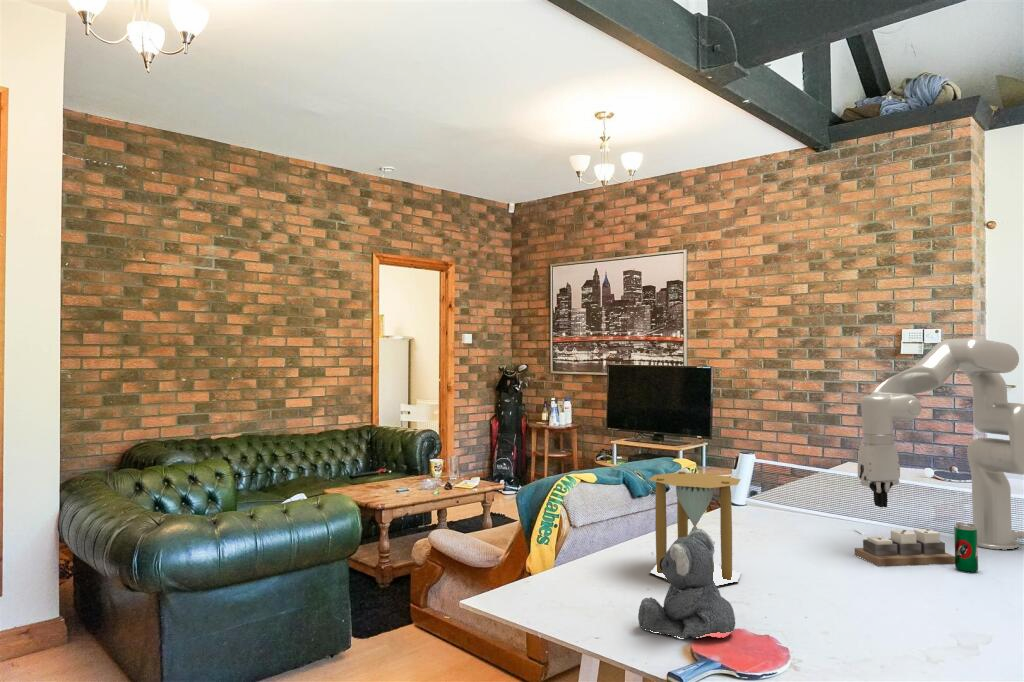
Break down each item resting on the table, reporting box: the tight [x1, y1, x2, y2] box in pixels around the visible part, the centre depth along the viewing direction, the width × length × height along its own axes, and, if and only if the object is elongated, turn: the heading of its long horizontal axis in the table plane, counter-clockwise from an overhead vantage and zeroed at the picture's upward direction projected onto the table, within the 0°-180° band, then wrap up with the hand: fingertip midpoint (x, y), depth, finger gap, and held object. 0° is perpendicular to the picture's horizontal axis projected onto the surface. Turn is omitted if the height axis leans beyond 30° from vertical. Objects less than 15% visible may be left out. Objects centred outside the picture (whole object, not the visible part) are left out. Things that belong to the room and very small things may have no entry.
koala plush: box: [637, 528, 736, 639], centre depth 144 cm, size 17×18×20 cm
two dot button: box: [913, 528, 941, 543], centre depth 193 cm, size 4×4×4 cm
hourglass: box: [647, 470, 742, 580], centre depth 180 cm, size 24×22×25 cm
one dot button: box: [867, 536, 892, 545], centre depth 192 cm, size 4×4×4 cm
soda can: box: [953, 522, 979, 574], centre depth 182 cm, size 5×5×12 cm
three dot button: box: [890, 529, 916, 544], centre depth 192 cm, size 4×4×4 cm
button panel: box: [854, 538, 955, 567], centre depth 192 cm, size 22×11×5 cm, turn 96°
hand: (880, 506), depth 192 cm, fingers closed
